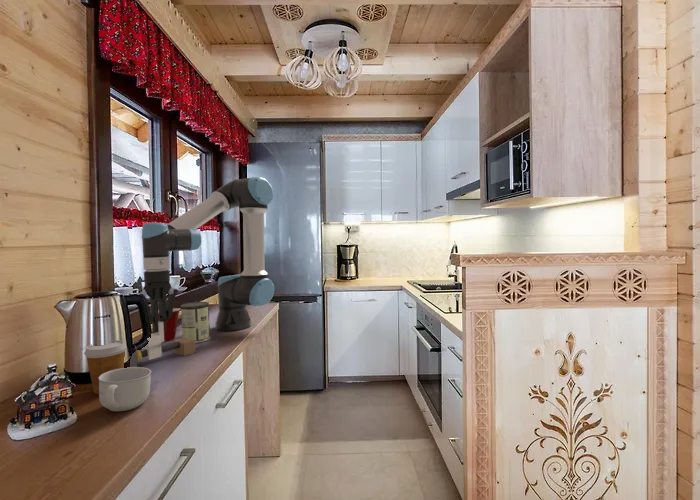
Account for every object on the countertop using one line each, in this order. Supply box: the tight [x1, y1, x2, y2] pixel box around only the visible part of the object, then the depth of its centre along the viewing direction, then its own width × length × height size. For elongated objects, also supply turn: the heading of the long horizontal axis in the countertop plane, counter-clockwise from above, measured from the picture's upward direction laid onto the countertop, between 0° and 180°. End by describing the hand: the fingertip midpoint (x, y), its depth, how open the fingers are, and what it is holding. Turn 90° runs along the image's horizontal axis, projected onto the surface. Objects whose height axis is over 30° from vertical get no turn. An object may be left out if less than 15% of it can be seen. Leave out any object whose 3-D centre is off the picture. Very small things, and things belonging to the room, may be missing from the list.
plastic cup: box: [158, 307, 181, 342], centre depth 150 cm, size 11×11×12 cm
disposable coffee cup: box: [83, 339, 127, 395], centre depth 101 cm, size 10×10×12 cm
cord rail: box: [130, 337, 196, 367], centre depth 125 cm, size 22×7×7 cm, turn 144°
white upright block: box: [141, 332, 163, 361], centre depth 123 cm, size 4×4×7 cm
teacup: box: [98, 366, 152, 412], centre depth 89 cm, size 14×11×8 cm
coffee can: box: [180, 301, 211, 344], centre depth 148 cm, size 10×10×14 cm
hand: (159, 341), depth 125 cm, fingers closed
